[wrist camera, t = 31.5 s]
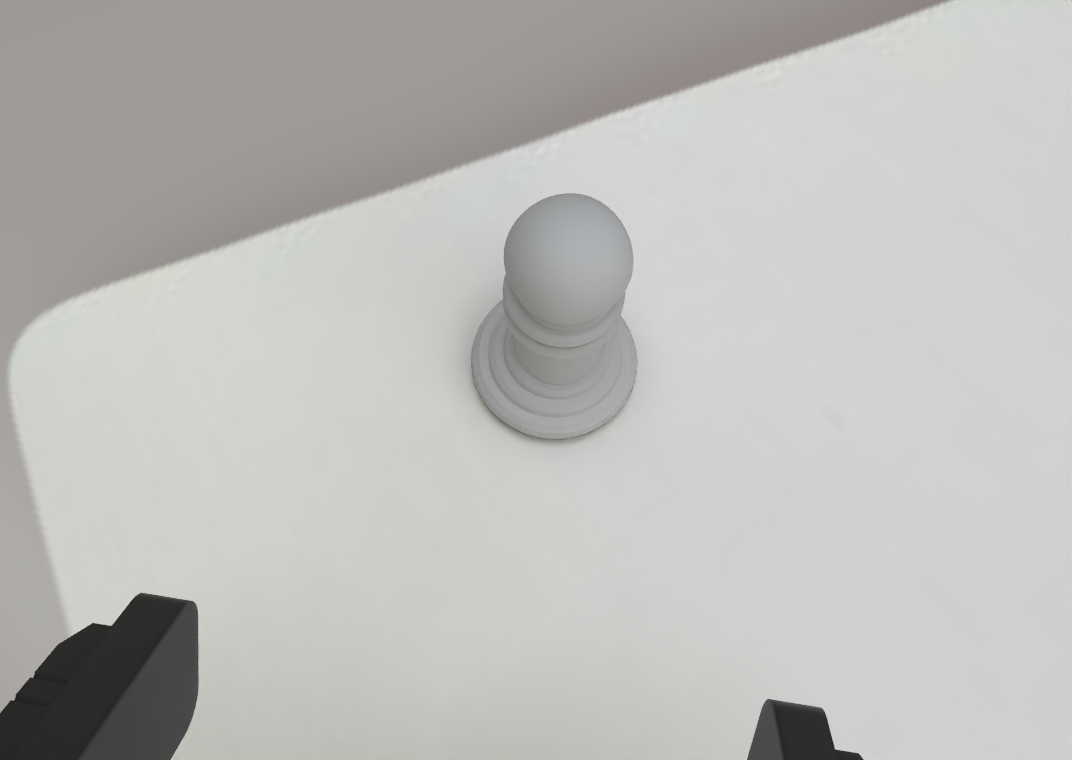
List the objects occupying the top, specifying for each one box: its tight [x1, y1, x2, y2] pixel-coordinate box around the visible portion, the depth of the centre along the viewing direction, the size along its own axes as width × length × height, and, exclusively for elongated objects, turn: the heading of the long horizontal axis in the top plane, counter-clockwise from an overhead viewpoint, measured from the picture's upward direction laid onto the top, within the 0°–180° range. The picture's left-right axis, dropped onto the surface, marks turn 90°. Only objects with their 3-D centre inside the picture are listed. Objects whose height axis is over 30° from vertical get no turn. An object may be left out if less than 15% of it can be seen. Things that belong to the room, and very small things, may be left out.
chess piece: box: [471, 194, 637, 439], centre depth 28 cm, size 5×5×9 cm
